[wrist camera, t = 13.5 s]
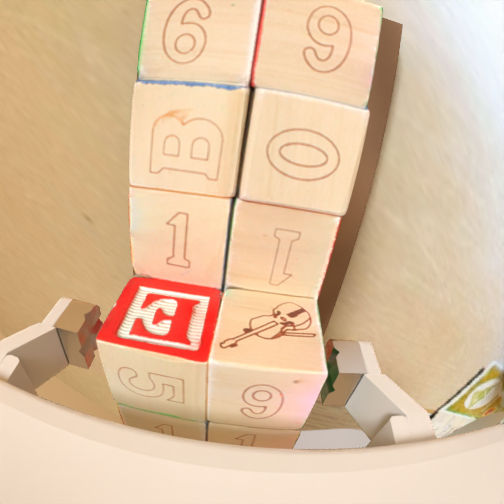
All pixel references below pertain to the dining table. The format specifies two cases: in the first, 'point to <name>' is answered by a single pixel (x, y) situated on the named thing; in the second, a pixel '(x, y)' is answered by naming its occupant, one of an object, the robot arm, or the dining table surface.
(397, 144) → the dining table surface
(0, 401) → the robot arm
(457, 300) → the dining table surface
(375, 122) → the walnut board
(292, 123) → the stack of blocks
